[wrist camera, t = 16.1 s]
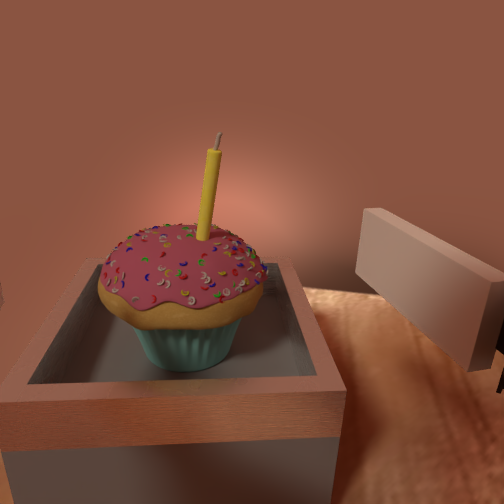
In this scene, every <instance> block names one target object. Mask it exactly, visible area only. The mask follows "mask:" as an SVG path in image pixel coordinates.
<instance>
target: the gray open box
mask: <svg viewBox="0 0 504 504" xmlns="http://www.w3.org/2000/svg"><path fill="white" fill-rule="evenodd" d="M285 376H299V373H298V370H297V366H296V363H295V360H294V356H293V353H292V349H291V346H290V343H289V339H288V336H287V332H286V329H285V326H284V322H283V319H282V315H281V312H280V309H279V305H278V302H277V298H276V295H262V296H261V298H260V299H259V301H258V303H257V305H256V307H255V309H254V311H253V312H252V313H251V314H249V315H247V316H244V317H242V319H241V321H240V323H239V325H238V328H237V330H236V333H235V335H234V338H233V341H232V344H231V347H230V350H229V352H228V354H227V355H226V357H225V358H224V359H223V360H222V361H220V362H219V363H217V364H216V365H214V366H212V367H209V368H207V369H204V370H200V371H194V372H174V371H169V370H165V369H162V368H160V367H158V366H156V365H155V364H153V363H152V362H151V361H150V360H149V359H148V357H147V356H146V353H145V351H144V349H143V346H142V344H141V342H140V340H139V338H138V336H137V334H136V332H135V330H134V329H133V327H132V326H131V325H130V324H128V323H127V322H125V321H124V320H122V319H120V318H119V317H117V316H116V315H114V314H113V313H111V312H110V311H109V310H108V309H107V308H106V307H105V305H104V304H103V303H102V301H101V300H100V303H99V305H98V307H97V309H96V311H95V313H94V315H93V317H92V319H91V321H90V323H89V325H88V327H87V329H86V331H85V333H84V335H83V337H82V339H81V341H80V343H79V346H78V348H77V350H76V352H75V354H74V356H73V358H72V360H71V362H70V364H69V366H68V368H67V370H66V372H65V374H64V376H63V378H62V380H61V382H60V383H93V382H125V381H157V380H189V379H221V378H253V377H285ZM339 441H340V437H321V438H299V439H277V440H254V441H232V442H210V443H188V444H166V445H144V446H122V447H100V448H77V449H55V450H33V451H11V452H1V453H2V457H3V461H4V465H5V469H6V473H7V477H8V481H9V485H10V489H11V493H12V497H13V501H14V504H330V502H331V496H332V489H333V482H334V475H335V468H336V461H337V454H338V448H339Z"/></svg>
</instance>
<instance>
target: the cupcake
mask: <svg viewBox="0 0 504 504" xmlns="http://www.w3.org/2000/svg"><path fill="white" fill-rule="evenodd" d="M221 136H222V133H221V132H219V133H218V134H217V136H216V142H215V146H214V148H212V149H208V152H207V159H206V167H205V174H204V181H203V188H202V196H201V203H200V210H199V219H198V224H196V223H194V224H195V225H182V224H179V225H172V226H171V225H169V224H166V225H164V224H163V225H164V226H163V227H160V226H154V227H153V228H152V229H151V228H149V229H146V228H145V229H143V230H139V232H138V233H136V234H134V235H132V236H129V237H128V239H127V240H126V241H125V242H123V243H122V242H120V243H119V244H118V247H115V249H113V250H114V251H113V252H112V253H110V254H109V255H108V256H107V258H106V261H105V262H104V264H103V266H102V270H101V275H100V278H99V281H98V294H99V297H100V299H101V301H102V303H103V304H104V305H105V307H106V308H107V309H108V310H109V311H110V312H111V313H113V314H114V315H116V316H117V317H119V318H120V319H122V320H124V321H125V322H127V323H128V324H130V325H131V326H132V327H133V329H134V330H135V332H136V334H137V336H138V338H139V340H140V342H141V344H142V346H143V349H144V351H145V353H146V356H147V357H148V359H149V360H150V361H151V362H152V363H153V364H155V365H156V366H158V367H160V368H162V369H165V370H169V371H174V372H194V371H200V370H204V369H207V368H209V367H212V366H214V365H216V364H217V363H219V362H220V361H222V360H223V359H224V358H225V357H226V355H227V354H228V352H229V350H230V347H231V344H232V341H233V338H234V335H235V333H236V330H237V328H238V325H239V323H240V321H241V319H242V317H244V316H247V315H249V314H251V313H252V312H253V311H254V309H255V307H256V305H257V303H258V301H259V299H260V298H261V296H262V294H263V282H264V281H266V280H267V278H268V276H267V274H268V270H267V267H266V266H264V261H262V260H261V259H260V258H259V257H258V256H257V255H256V252H255V250H254V249H252V248H251V246H250V245H248V244H246V243H244V242H243V241H244V240H243V239H241V238H238V236H237V235H234V234H232V233H231V232H230V231H228V230H223V229H221V228H218V226H216V225H213V224H211V222H212V215H213V208H214V202H215V195H216V189H217V182H218V175H219V169H220V162H221V156H222V152H221V150H218V147H219V144H220V138H221ZM168 225H169V226H168ZM236 236H237V237H236ZM265 268H266V269H265Z"/></svg>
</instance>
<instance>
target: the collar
mask: <svg viewBox="0 0 504 504" xmlns="http://www.w3.org/2000/svg"><path fill="white" fill-rule="evenodd" d="M259 258H260V259H261V260H262V261H264V266H266V267H267V270H268V274H267V276H268V278H267V280H266V281H264V282H263V294H262V295H276V298H277V302H278V305H279V309H280V312H281V315H282V319H283V322H284V326H285V329H286V332H287V336H288V339H289V343H290V346H291V349H292V353H293V356H294V360H295V363H296V366H297V370H298V373H299V376H285V377H253V378H221V379H189V380H157V381H125V382H93V383H60V382H61V380H62V378H63V376H64V374H65V372H66V370H67V368H68V366H69V364H70V362H71V360H72V358H73V356H74V354H75V352H76V350H77V348H78V346H79V343H80V341H81V339H82V337H83V335H84V333H85V331H86V329H87V327H88V325H89V323H90V321H91V319H92V317H93V315H94V313H95V311H96V309H97V307H98V305H99V303H100V300H101V299H100V297H99V294H98V281H99V278H100V275H101V270H102V266H103V264H104V262H105V261H106V258H86V260H85V262H84V263H83V264H82V266H81V267H80V269H79V270H78V272H77V273H76V275H75V276H74V278H73V279H72V281H71V282H70V284H69V285H68V287H67V288H66V289H65V291H64V292H63V294H62V295H61V297H60V298H59V300H58V301H57V303H56V304H55V306H54V307H53V309H52V310H51V312H50V313H49V315H48V316H47V318H46V319H45V321H44V322H43V324H42V325H41V326H40V328H39V329H38V331H37V333H36V334H35V335H34V337H33V338H32V340H31V341H30V343H29V344H28V346H27V347H26V349H25V350H24V352H23V353H22V355H21V356H20V357H19V359H18V360H17V362H16V363H15V365H14V366H13V368H12V369H11V371H10V372H9V374H8V375H7V377H6V378H5V380H4V381H3V383H2V384H1V386H0V449H1V452H11V451H33V450H55V449H77V448H100V447H122V446H144V445H166V444H188V443H210V442H232V441H254V440H277V439H299V438H321V437H340V434H341V427H342V420H343V413H344V407H345V400H346V393H347V390H346V387H345V385H344V383H343V380H342V378H341V376H340V373H339V371H338V369H337V366H336V364H335V362H334V359H333V357H332V355H331V353H330V350H329V348H328V346H327V343H326V341H325V339H324V336H323V334H322V332H321V329H320V327H319V325H318V322H317V320H316V318H315V316H314V313H313V311H312V309H311V306H310V304H309V302H308V299H307V297H306V295H305V292H304V290H303V288H302V285H301V283H300V281H299V278H298V276H297V274H296V272H295V269H294V267H293V265H292V262H291V260H290V258H289V257H259ZM265 269H266V268H265Z"/></svg>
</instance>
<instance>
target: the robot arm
mask: <svg viewBox="0 0 504 504" xmlns="http://www.w3.org/2000/svg"><path fill="white" fill-rule="evenodd" d="M355 273H356V274H357V275H359V276H360V277H361V278H362V279H363V280H364V281H365V282H366V283H367V284H369V285H370V286H371V287H372V288H373V289H374V290H375V291H376V292H378V293H379V294H380V295H381V296H382V297H383V298H384V299H385V300H387V301H388V302H389V303H390V304H391V305H392V306H393V307H394V308H396V309H397V310H398V311H399V312H400V313H401V314H402V315H403V316H405V317H406V318H407V319H408V320H409V321H410V322H411V323H412V324H414V325H415V326H416V327H417V328H418V329H419V330H420V331H422V332H423V333H424V334H425V335H426V336H427V337H428V338H429V339H431V340H432V341H433V342H434V343H435V344H436V345H437V346H438V347H440V348H441V349H442V350H443V351H444V352H445V353H446V354H447V355H449V356H450V357H451V358H452V359H453V360H454V361H455V362H456V363H458V364H459V365H460V366H461V367H462V368H463V369H464V370H465V371H467V372H472V371H479V370H485V369H491V365H492V362H493V358H494V355H495V352H496V349H497V350H498V351H500V352H501V353H502V354H503V355H504V273H502V272H501V271H499V270H497V269H495V268H493V267H491V266H490V265H488V264H486V263H484V262H482V261H480V260H478V259H476V258H474V257H473V256H471V255H469V254H467V253H465V252H463V251H461V250H459V249H458V248H456V247H454V246H452V245H450V244H448V243H446V242H445V241H443V240H441V239H439V238H437V237H435V236H433V235H431V234H429V233H427V232H426V231H424V230H422V229H420V228H418V227H416V226H415V225H413V224H411V223H409V222H407V221H405V220H403V219H401V218H400V217H398V216H396V215H394V214H392V213H390V212H388V211H386V210H385V209H383V208H370V209H369V208H367V209H364V213H363V220H362V228H361V235H360V242H359V249H358V257H357V264H356V271H355ZM3 304H4V298H3V293H2V288H1V283H0V309H1V307H2V305H3ZM502 389H504V368H503V371H502V375H501V378H500V381H499V385H498V388H497V391H496V393H500V394H501V392H502Z"/></svg>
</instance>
